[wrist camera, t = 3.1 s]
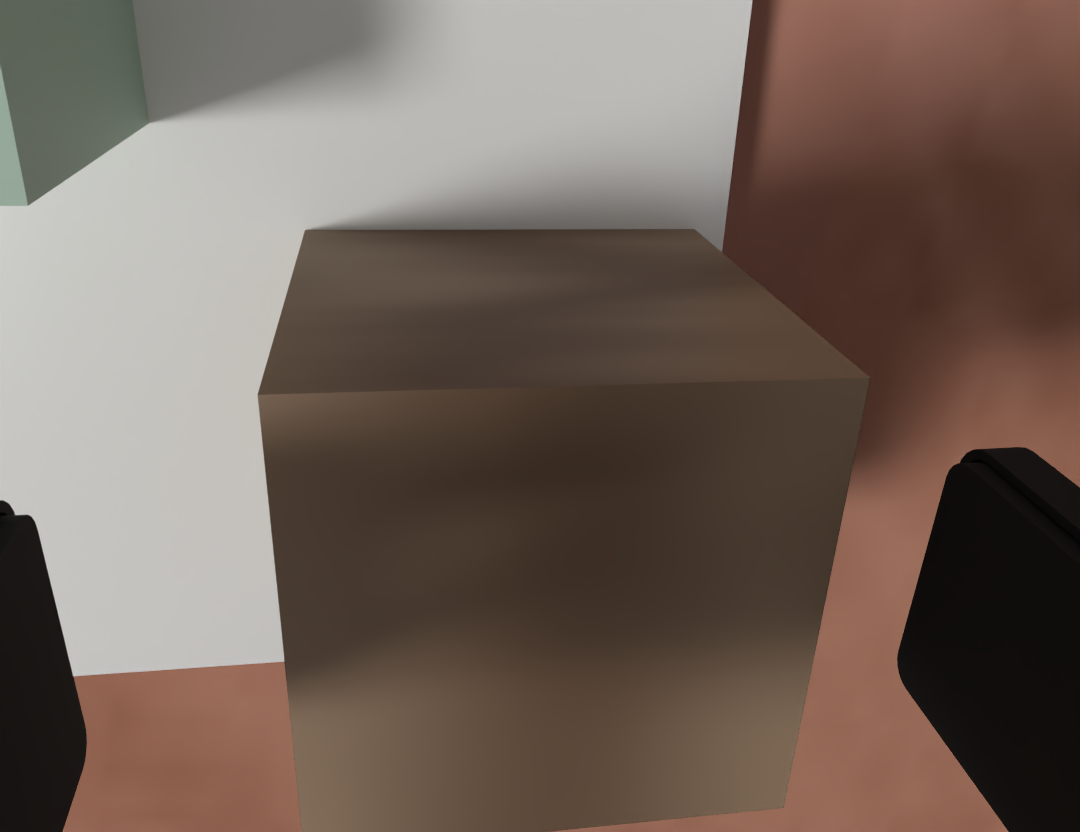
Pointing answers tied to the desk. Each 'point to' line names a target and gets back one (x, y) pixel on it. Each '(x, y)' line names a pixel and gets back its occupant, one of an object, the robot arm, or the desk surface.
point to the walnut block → (547, 526)
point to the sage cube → (64, 90)
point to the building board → (272, 248)
